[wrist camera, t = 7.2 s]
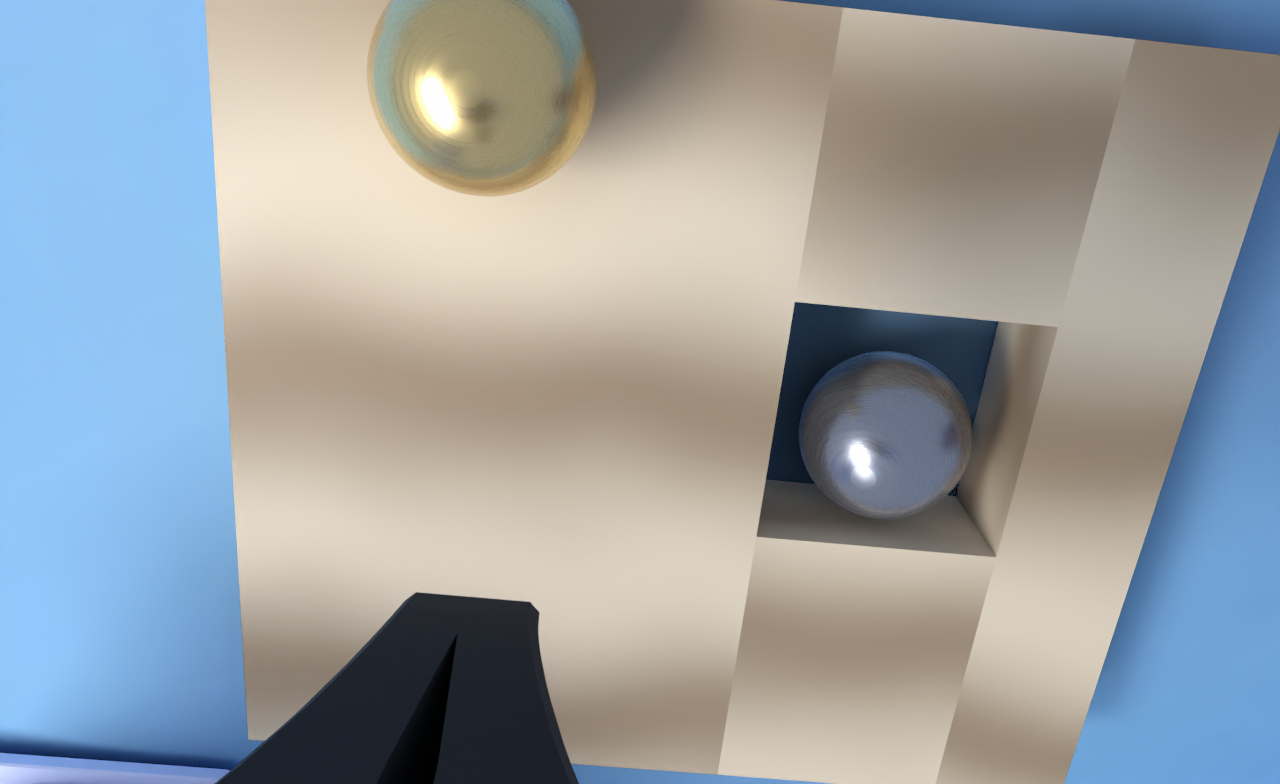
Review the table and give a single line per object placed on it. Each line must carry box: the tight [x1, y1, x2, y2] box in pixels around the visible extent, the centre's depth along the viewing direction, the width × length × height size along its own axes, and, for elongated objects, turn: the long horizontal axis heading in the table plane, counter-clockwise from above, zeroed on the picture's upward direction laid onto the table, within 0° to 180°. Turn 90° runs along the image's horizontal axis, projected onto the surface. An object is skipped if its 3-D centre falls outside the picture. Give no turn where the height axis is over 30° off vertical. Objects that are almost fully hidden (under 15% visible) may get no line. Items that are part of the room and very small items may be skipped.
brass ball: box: [367, 0, 597, 197], centre depth 14 cm, size 3×3×3 cm
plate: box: [205, 0, 1280, 784], centre depth 19 cm, size 15×17×2 cm
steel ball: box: [799, 351, 972, 519], centre depth 19 cm, size 3×3×3 cm
